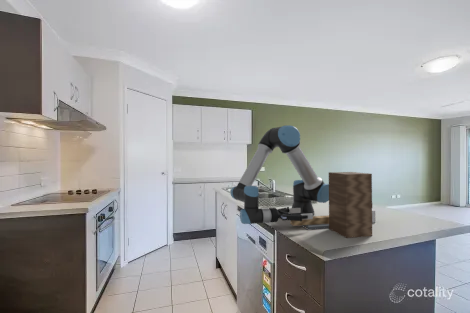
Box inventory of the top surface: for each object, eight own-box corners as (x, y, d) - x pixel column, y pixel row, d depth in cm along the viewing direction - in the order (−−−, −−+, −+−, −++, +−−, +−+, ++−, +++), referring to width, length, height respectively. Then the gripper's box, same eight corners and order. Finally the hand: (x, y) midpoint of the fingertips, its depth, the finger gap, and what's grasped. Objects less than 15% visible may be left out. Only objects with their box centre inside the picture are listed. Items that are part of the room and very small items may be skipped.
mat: (308, 229, 123) (308, 226, 123) (299, 224, 133) (299, 221, 133) (332, 227, 125) (332, 225, 125) (322, 222, 135) (322, 220, 135)
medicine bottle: (375, 223, 134) (375, 202, 134) (362, 222, 135) (361, 201, 135) (370, 219, 141) (370, 199, 141) (358, 219, 142) (357, 199, 142)
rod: (293, 225, 125) (293, 219, 125) (290, 224, 128) (290, 217, 128) (336, 222, 129) (336, 216, 129) (333, 221, 133) (333, 215, 133)
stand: (346, 238, 110) (345, 174, 110) (329, 229, 124) (328, 172, 124) (372, 235, 113) (371, 173, 113) (352, 227, 126) (351, 171, 126)
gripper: (262, 216, 136) (295, 214, 140) (277, 229, 112) (318, 226, 116) (261, 203, 136) (295, 201, 140) (277, 213, 112) (318, 211, 116)
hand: (306, 213), depth 128 cm, fingers open, 13 cm apart
